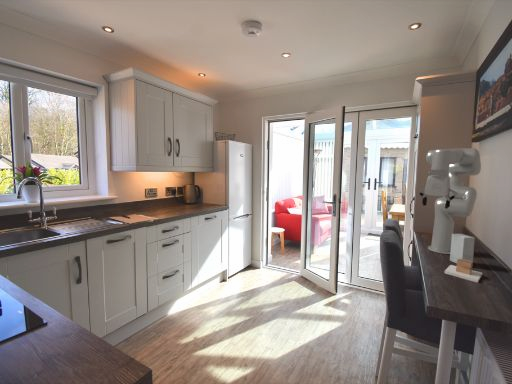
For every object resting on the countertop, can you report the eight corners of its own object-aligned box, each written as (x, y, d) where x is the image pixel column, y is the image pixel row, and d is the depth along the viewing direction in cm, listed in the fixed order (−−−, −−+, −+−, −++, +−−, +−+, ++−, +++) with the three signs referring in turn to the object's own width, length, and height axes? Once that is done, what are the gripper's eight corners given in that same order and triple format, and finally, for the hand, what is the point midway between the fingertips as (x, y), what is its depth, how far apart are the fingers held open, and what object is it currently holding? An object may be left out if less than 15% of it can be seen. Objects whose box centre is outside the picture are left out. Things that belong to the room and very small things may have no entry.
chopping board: (450, 267, 130) (450, 264, 130) (481, 275, 121) (482, 272, 121) (444, 273, 122) (444, 270, 122) (477, 282, 113) (478, 279, 113)
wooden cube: (458, 268, 125) (459, 258, 125) (471, 272, 122) (472, 261, 121) (455, 271, 122) (457, 260, 121) (469, 274, 118) (471, 264, 118)
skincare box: (472, 266, 132) (476, 237, 130) (460, 266, 132) (465, 237, 130) (459, 260, 140) (462, 233, 139) (448, 260, 140) (451, 232, 138)
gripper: (417, 172, 138) (414, 204, 140) (458, 174, 125) (454, 210, 127) (422, 172, 143) (418, 203, 145) (462, 174, 130) (457, 209, 132)
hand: (435, 206), depth 136 cm, fingers open, 9 cm apart
